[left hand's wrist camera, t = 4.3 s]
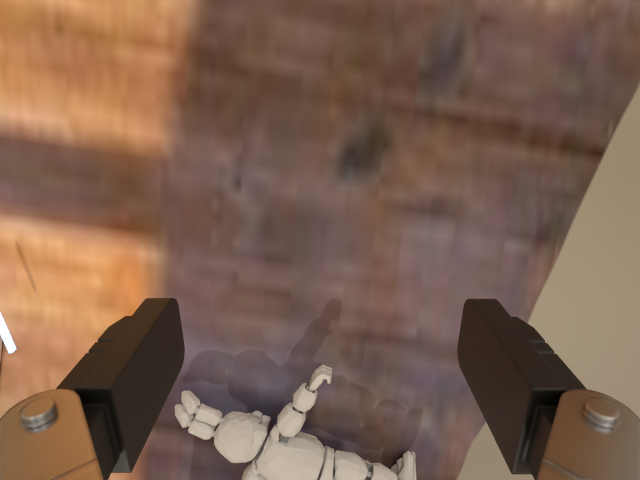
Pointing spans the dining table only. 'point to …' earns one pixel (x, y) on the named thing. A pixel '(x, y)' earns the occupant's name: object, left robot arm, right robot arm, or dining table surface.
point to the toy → (284, 441)
